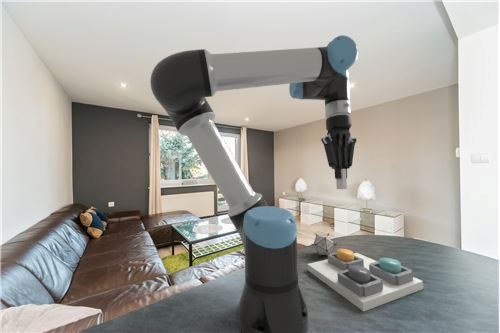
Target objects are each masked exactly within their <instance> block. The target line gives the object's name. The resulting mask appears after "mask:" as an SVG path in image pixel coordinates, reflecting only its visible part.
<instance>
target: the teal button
mask: <svg viewBox="0 0 500 333" xmlns="http://www.w3.org/2000/svg"><path fill="white" fill-rule="evenodd" d="M378 261H379V267H380V268H381V269H383V270H385V271H387V272H390V273H392V274H394V275H395V274H398V273H401V266H402V263H401V262H400V261H399V260H397V259H395V258H391V257H380V258H379V259H378Z"/></svg>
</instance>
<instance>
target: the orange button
mask: <svg viewBox="0 0 500 333" xmlns="http://www.w3.org/2000/svg"><path fill="white" fill-rule="evenodd" d="M335 253H336V254H337V258H338V259H340V260H342V261H344V262H350V261H354V252H353V251H352V250H350V249H348V248H347V249H346V248H337V249H336V251H335Z"/></svg>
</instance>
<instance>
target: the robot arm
mask: <svg viewBox="0 0 500 333" xmlns="http://www.w3.org/2000/svg"><path fill="white" fill-rule="evenodd" d="M358 56H359V50H358V45H357V43H356V41H355V40H354V39H353V38H351V37H349V36H347V35H343V34H342V35H338V36H336V37H334V38H333V39H332V40H331V41H329V42H328V43H327V46H320V47H319V46H318V47H304V48H302V47H301V48H289V49H288V48H285V49H273V50H272V49H271V50H270V49H269V50H258V51H257V50H256V51H242V52H225V53H210V52H209V51H208V50H207V49H205V48H203V49H191V50H189V49H188V50H185V51H180V52H177V53H173V54H170V55H168V56H165V57H164V58H163V59H161V60H160V61H159V62H157V64H156V65H155V66H154V68H153V70H152V71H151V76H150V81H149V82H150V89H151V91H152V92H151V93H152V94H153V96H154V99H156V101H157V102H158V103H159V105H161V107H162V108H163V109H164V111H165V112H166V113H167V115H168V117H169V118H170V120H171V122H172V123H173V125H174V127H175V129H176V130H177V132H178V134H180V135H182V136H186V137H187V139H188V140H189V141H190V144H191V145H192V146H193V149H194V150H195V152H196V153H197V155H198V156H199V159H200V160H201V162H202V163H203V165H204V167H205V168H206V170H207V172H208V174H209V176H210V177H211V179H212V180H213V182H214V184H215V185H216V188H217V189H218V191H219V192H220V193H221V195H222V197H223V199H224V201H225V202H226V204H227V206H228V212H227V216H228V218H229V219H230V221H231V223H232V225H233V226H234V228H235V230H236V231H237V233H238V235H239V237H240V239H241V243H242V245H243V251H244V277H245V278H244V279H245V280H244V285H243V289H242V292H241V296H240V299H239V302H238V306H237V322H238V326H239V330H240V332H241V331H242V332H243V333H308V330H309V313H308V308H307V305H306V301H305V299H304V296H303V293H302V291H301V288H300V284H299V273H298V272H299V269H298V268H299V267H298V239H297V238H298V236H297V235H298V228H297V224H296V223H297V222H296V218H295V216H294V215H293V213H292V212H291V211H290V210H288V209H285V208H283V207H278V206H270V205H268V203H267V202H266V199H265V198H264V197H263V195H262V193H259V192H255V191H254V189H253V188H252V186H251V184H250V182H249V180H248V178H247V177H246V176H245V174H244V171H243V170H242V169H241V167H240V165H239V163H238V162H237V160H236V158H235V156H234V155H233V153H232V152H231V149H230V148H229V147H228V146H229V145H228V144H227V143H226V141H225V140H224V138H223V136H222V134H221V133H220V131H219V129H218V128H217V126H216V124H215V118H216V114H215V113H214V110H213V108H212V106H211V105H210V104H209V101H208V100H207V98H209V97H212V98H213V97H214V95H215V94H216V93H217V92H221V91H222V92H223V91H232V90H241V89H249V88H252V89H253V88H259V87H260V88H261V87H269V86H270V87H271V86H279V85H288V84H289V88H288V89H289V95H290V97H291V98H292V99H298V100H301V101H302V100H313V101H315V100H316V101H317V100H318V101H324V110H325V118H326V120H325V130H326V131H327V133H326V136H324V137H322V138H320V141H321V142H322V144H323V147H324V151H325V154H326V159H327V164H328V167H329V168H331V169H332V170H333V171H334V179H335V180H336V182H335V184H336V190H348V185H347V183H348V182H347V179H348V169H350V168H352V166H353V160H354V151H355V145H356V143H357V138H353V137H352V136H351V135H352V134H351V132H350V129H351V128H352V116H351V92H350V90H351V89H350V76H349V69H350V68H351V67H352V66H353V65H354V64H355V62H356V61H358ZM242 332H241V333H242Z"/></svg>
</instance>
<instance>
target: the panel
mask: <svg viewBox="0 0 500 333" xmlns="http://www.w3.org/2000/svg"><path fill="white" fill-rule="evenodd" d="M353 253H354V252H353ZM351 265H357V266H362V267H365V268H367V269H368V270H369V271H370V281H371V282H369V283H366V284H362V285H360V284H359V283H357V282H355V281H354V280H352V279H350V278H349V277H348V267H349V266H351ZM307 271H308V272H309V273H311V274H312V275H313V276H315V277H317V279H319V280H320V281H322V283H325V284H326V285H327V286H328V287H330V288H331V289H332V290H334V291H335V292H336V293H338V294H339V295H340V296H342V297H344V299H345V300H347V301H349V302H350V303H351V304H353V305H354V306H355V307H357V308H358V309H360V310H361V312H366V311H368V310H371V309H375V308H377V307H381V306H382V305H384V304H388V303H390V302H392V301H395V300H398V299H401V298H404V297H406V296H408V295H411V294H413V293H416V292H419V291H422V290H424V281H423V280H421V279H419V278H417V277H414V270H413V269H410V268H407V267H405V266H403V265H401V273H398V274H395V275H394V274H392V273H390V272H387V271H385V270H383V269H381V268H380V267H379V260H378V261H377V260H374V259H373V258H371V257H368V256H365V255H363V254H360V253H358V252H355V253H354V261H350V262H344V261H342V260H340V259H338V258H337V254H336V252H332V253H331V254H329V255H327V259H324V260H319V261H315V262H310V263H307Z"/></svg>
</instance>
